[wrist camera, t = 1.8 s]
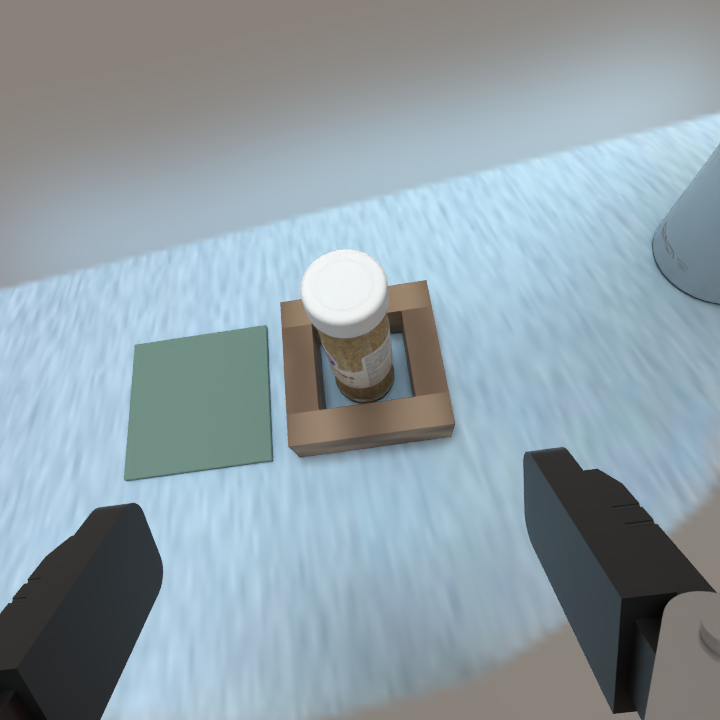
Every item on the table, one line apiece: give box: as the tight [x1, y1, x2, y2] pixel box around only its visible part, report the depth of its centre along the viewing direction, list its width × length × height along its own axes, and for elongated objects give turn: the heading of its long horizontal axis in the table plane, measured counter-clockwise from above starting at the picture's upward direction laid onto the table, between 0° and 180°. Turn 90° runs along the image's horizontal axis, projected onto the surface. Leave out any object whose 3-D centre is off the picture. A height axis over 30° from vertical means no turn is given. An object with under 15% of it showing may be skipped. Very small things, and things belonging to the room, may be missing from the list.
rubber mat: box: [124, 325, 273, 481], centre depth 37 cm, size 11×11×1 cm
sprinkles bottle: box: [300, 249, 394, 403], centre depth 30 cm, size 5×5×13 cm
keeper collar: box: [280, 280, 455, 457], centre depth 35 cm, size 11×11×4 cm
